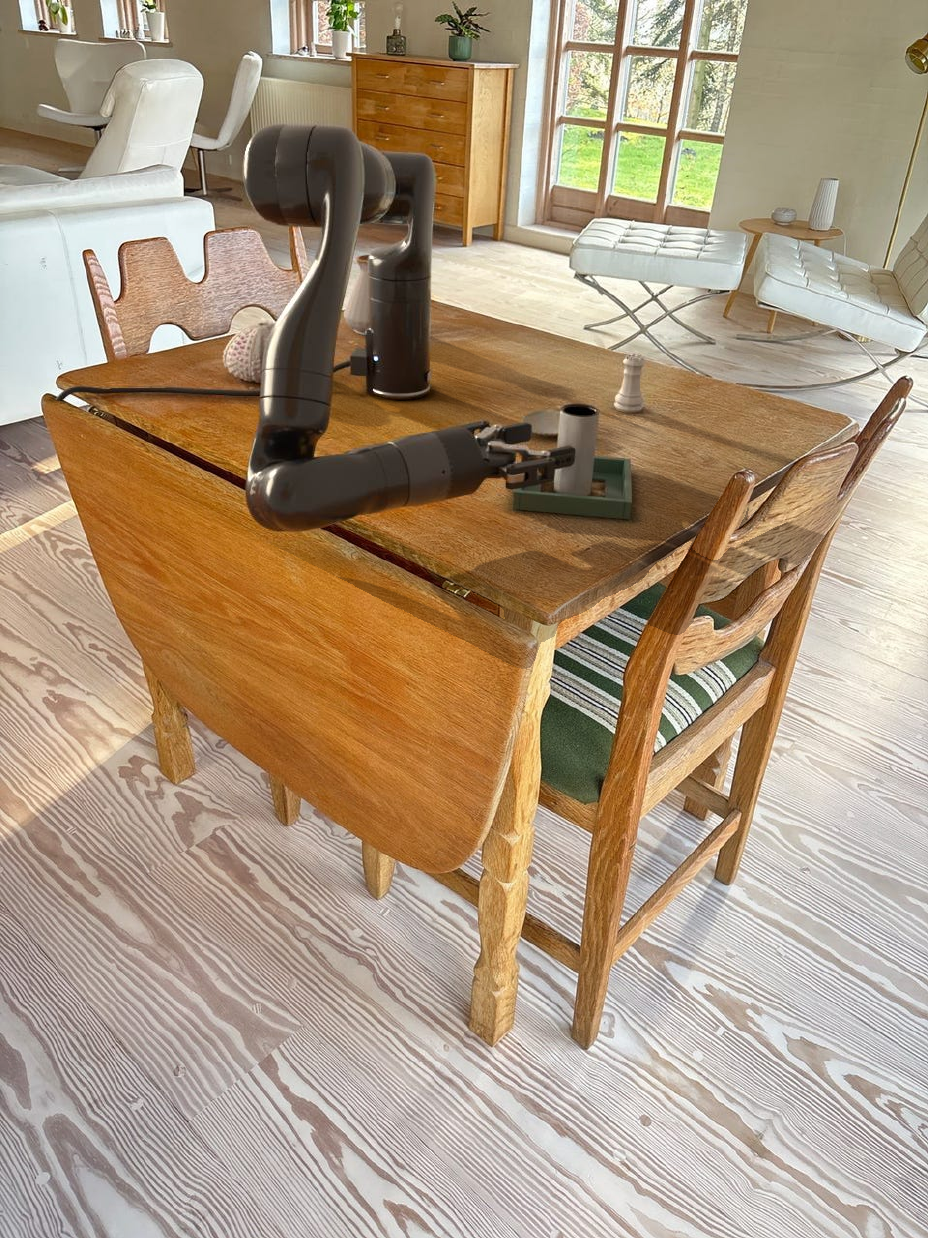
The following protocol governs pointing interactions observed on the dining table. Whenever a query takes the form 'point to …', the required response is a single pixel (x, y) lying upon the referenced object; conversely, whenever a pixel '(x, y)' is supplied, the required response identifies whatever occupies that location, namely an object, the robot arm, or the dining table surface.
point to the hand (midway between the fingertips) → (550, 442)
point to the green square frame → (611, 506)
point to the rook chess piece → (631, 386)
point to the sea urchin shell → (247, 352)
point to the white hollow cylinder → (577, 448)
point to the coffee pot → (359, 300)
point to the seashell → (543, 422)
